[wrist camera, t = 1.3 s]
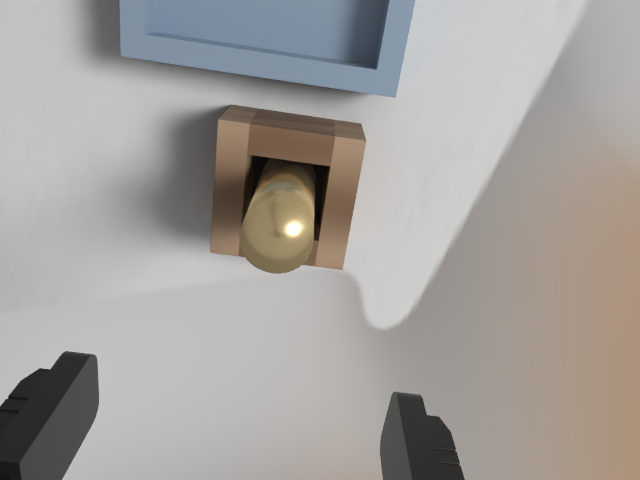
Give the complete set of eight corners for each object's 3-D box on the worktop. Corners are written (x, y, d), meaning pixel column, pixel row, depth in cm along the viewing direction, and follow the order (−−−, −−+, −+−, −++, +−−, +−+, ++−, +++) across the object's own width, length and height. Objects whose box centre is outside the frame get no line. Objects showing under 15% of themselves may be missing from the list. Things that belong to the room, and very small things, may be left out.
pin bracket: (231, 104, 30) (218, 119, 26) (361, 123, 30) (366, 140, 26) (222, 224, 33) (210, 252, 29) (340, 240, 33) (342, 269, 30)
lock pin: (266, 146, 31) (243, 199, 21) (319, 155, 31) (319, 211, 22) (260, 196, 32) (235, 267, 23) (310, 205, 32) (306, 278, 23)
